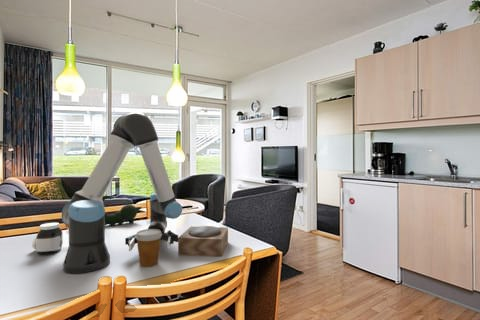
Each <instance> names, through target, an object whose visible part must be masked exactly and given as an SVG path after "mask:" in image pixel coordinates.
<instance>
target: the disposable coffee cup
mask: <svg viewBox="0 0 480 320" xmlns="http://www.w3.org/2000/svg"><path fill="white" fill-rule="evenodd" d="M135 234H136V236H135V237H136V239H137V243H136V245H137V250H138V251H137V253H138V258H139V265H140V266H141V267H143V268H144V267H146V268H147V267H148V268H149V267H154V266H155V265H157V264H158V262H159V255H160V247H161V240H160V239H161V236H162V233H161V231H160V230H158V229H148V228H147V229H146V228H145V229H141V230H139V231H137V232H136V233H135Z"/></svg>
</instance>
